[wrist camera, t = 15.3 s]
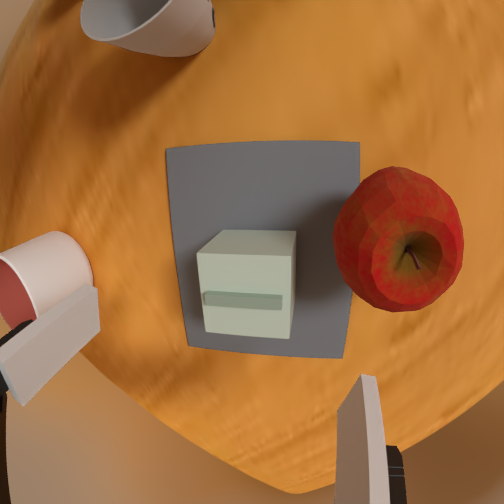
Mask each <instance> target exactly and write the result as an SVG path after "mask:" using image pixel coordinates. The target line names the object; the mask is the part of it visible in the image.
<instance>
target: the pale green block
mask: <svg viewBox="0 0 504 504" xmlns="http://www.w3.org/2000/svg"><path fill="white" fill-rule="evenodd" d="M196 254H197V264H198V273H199V282H200V291H201V299H202V307H203V315H204V323H205V330H206V332H212V333H221V334H231V335H241V336H253V337H266V338H281V339H289V338H290V331H291V325H292V318H293V311H294V304H295V288H296V231H280V230H222V231H221V232H220V233H219V234H217V235H216V236H215V237H214V238H213V239H212V240H211V241H210V242H208V243H207V244H206V245H205V246H204V247H203V248H202V249H201V250H199V251H198V252H197V253H196Z"/></svg>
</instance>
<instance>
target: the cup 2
mask: <svg viewBox="0 0 504 504" xmlns="http://www.w3.org/2000/svg"><path fill="white" fill-rule="evenodd" d="M80 23H81V27H82V29H83V31H84V33H85V34H86V35H87V36H88V37H89V38H91V39H93V40H97V41H100V42H104V43H108V44H111V45H114V46H118V47H121V48H124V49H127V50H131V51H134V52H139V53H145V54H151V55H156V56H161V57H186V56H191V55H194V54H196V53H198V52H200V51H202V50H203V49H204V48H205V47H206V46H207V45H208V44H209V43H210V42H211V40H212V38H213V36H214V33H215V12H214V8H213V6H212V3H211V0H84V1H83V4H82V7H81V12H80Z"/></svg>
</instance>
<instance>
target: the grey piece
mask: <svg viewBox="0 0 504 504" xmlns="http://www.w3.org/2000/svg"><path fill="white" fill-rule="evenodd" d="M166 159H167V175H168V189H169V201H170V213H171V223H172V233H173V242H174V250H175V259H176V267H177V274H178V282H179V289H180V296H181V302H182V309H183V315H184V321H185V327H186V333H187V339H188V344H189V346H192V347H199V348H206V349H214V350H222V351H231V352H240V353H250V354H261V355H274V356H288V357H307V358H338V359H343V353H344V347H345V341H346V335H347V328H348V321H349V314H350V306H351V298H352V289H351V288H350V287H349V286H348V285H347V284H346V283H345V281H344V279H343V276H342V274H341V272H340V270H339V267H338V265H337V261H336V256H335V250H334V244H333V238H332V236H333V229H334V223H335V220H336V218H337V216H338V214H339V212H340V211H341V209H342V207H343V205H344V203H345V202H346V201H347V199H348V198H349V197H350V196H351V195H352V193H353V192H354V191H355V190H356V188H357V187H358V186H359V185H360V142H342V141H253V142H233V143H218V144H206V145H195V146H185V147H175V148H167V149H166ZM222 230H280V231H296V288H295V304H294V311H293V318H292V325H291V331H290V338H289V339H281V338H266V337H253V336H241V335H231V334H221V333H212V332H206V330H205V323H204V315H203V307H202V299H201V291H200V282H199V273H198V264H197V254H196V253H197V252H198V251H199V250H201V249H202V248H203V247H204V246H205V245H206V244H207V243H208V242H210V241H211V240H212V239H213V238H214V237H215V236H216V235H217V234H219V233H220V232H221V231H222Z"/></svg>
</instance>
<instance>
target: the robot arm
mask: <svg viewBox="0 0 504 504" xmlns="http://www.w3.org/2000/svg"><path fill="white" fill-rule="evenodd" d="M100 331H101V330H100V320H99V307H98V291H97V288H95V287H93V286H91V285H89V284H87V283H86V284H85V285H83V286H82V287H81V288H79V289H78V290H76V291H75V292H73V293H72V294H71V295H69V296H68V297H66V298H65V299H63V300H62V301H61V302H59V303H58V304H56V305H55V306H54V307H52V308H51V309H50V310H48V311H47V312H46V313H44V314H43V315H41V316H40V317H39V318H37V319H36V320H35V321H33V320H32V319H30V320H27V321H25V322H22V323H20V324H19V325H18V326H16V327H15V328H14V330H13V329H12V330H11V331H10V332H9V333H8V334H6V335H5V336H3V337H2V338H1V339H0V504H11V500H10V494H9V485H8V475H7V462H6V406H7V394H6V391H8V390H10V392H11V394H12V396H13V398H14V399H16V400H17V401H18V402H19V403H20V404H21V405H22V406H25V405H26V404H27V403H28V402H29V401H30V399H31V398H32V397H33V396H34V395H35V394H36V393H37V392H38V391H39V390H40V389H41V388H42V387H43V386H44V385H45V384H46V383H47V382H48V381H49V380H50V379H51V378H52V377H53V376H54V375H55V374H56V373H57V372H58V371H59V370H60V369H61V368H62V367H63V366H64V365H65V364H66V363H67V362H68V361H69V360H70V359H71V358H72V357H73V356H74V355H75V354H76V353H77V352H79V351H80V350H81V349H82V348H83V347H84V346H85V345H86V344H87V343H88V342H89V341H90V340H91V339H92V338H93V337H94V336H95V335H96V334H97V333H98V332H100ZM334 498H335V499H334V504H407V500H406V489H405V478H404V469H403V461H402V455H401V453H400V452H399V450H398V448H397V446H388V445H385V436H384V428H383V420H382V413H381V406H380V400H379V393H378V387H377V381H376V377H374V376H369V375H364V374H361V375H360V376H359V378H358V380H357V381H356V383H355V384H354V386H353V388H352V389H351V391H350V392H349V394H348V395H347V397H346V398H345V400H344V401H343V403H342V404H341V406H340V407H339V409H338V410H337V460H336V481H335V497H334Z"/></svg>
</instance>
